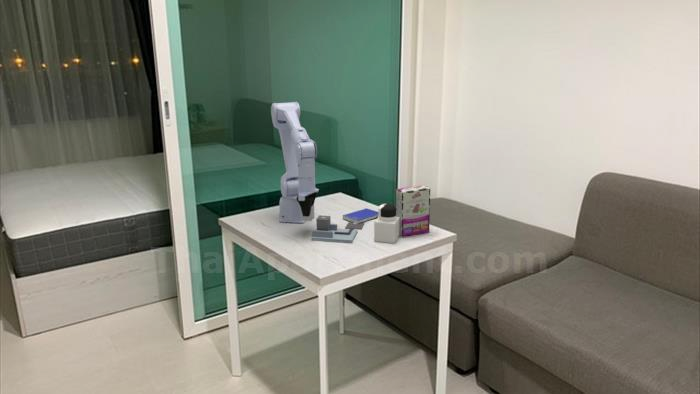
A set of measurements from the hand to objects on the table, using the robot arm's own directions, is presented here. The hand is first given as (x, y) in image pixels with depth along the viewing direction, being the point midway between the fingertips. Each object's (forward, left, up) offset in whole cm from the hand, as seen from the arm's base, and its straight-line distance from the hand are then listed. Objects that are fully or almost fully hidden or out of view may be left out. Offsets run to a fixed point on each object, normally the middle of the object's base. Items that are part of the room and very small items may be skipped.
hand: (307, 214), depth 185 cm
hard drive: (+16, +18, -7) cm, 25 cm away
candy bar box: (+36, +6, -7) cm, 37 cm away
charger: (+6, -2, -6) cm, 9 cm away
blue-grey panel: (+10, -1, -7) cm, 12 cm away
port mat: (+15, +9, -7) cm, 19 cm away
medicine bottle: (+28, -1, -7) cm, 29 cm away
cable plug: (0, 0, -2) cm, 2 cm away
